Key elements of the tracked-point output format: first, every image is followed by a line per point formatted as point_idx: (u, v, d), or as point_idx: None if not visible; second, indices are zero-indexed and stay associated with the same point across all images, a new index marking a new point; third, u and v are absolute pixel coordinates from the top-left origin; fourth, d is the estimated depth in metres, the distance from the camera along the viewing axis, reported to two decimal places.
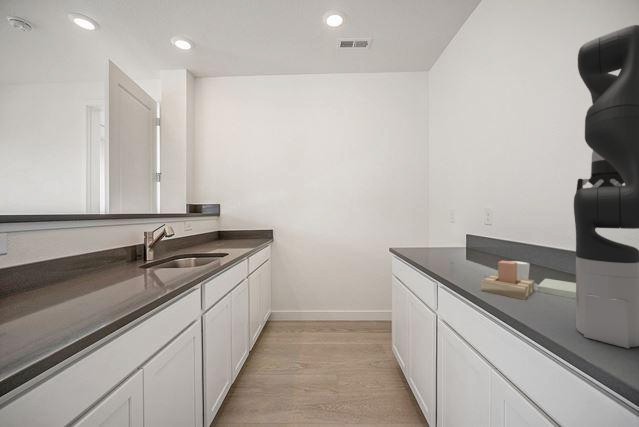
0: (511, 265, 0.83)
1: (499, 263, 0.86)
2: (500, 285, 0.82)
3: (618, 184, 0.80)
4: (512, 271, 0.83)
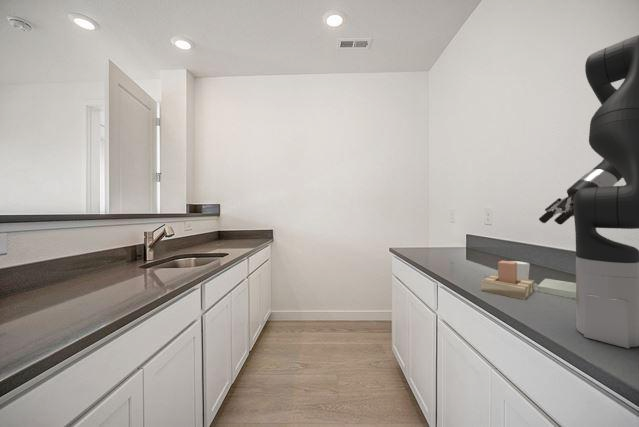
0: (511, 265, 0.83)
1: (499, 263, 0.86)
2: (500, 285, 0.82)
3: (569, 201, 0.79)
4: (512, 271, 0.83)
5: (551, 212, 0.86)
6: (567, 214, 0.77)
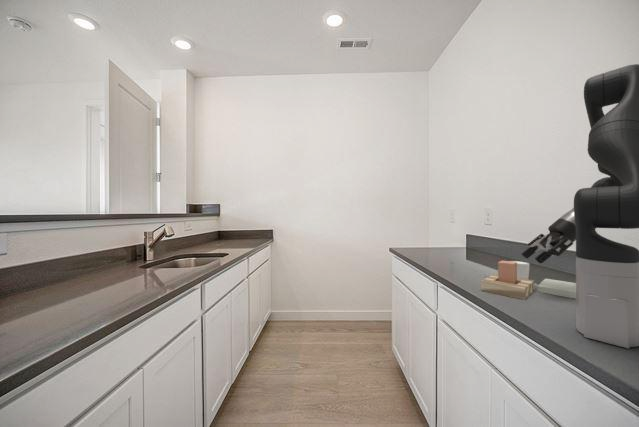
0: (511, 265, 0.83)
1: (499, 263, 0.86)
2: (500, 285, 0.82)
3: (549, 240, 0.81)
4: (512, 271, 0.83)
5: (533, 248, 0.87)
6: (547, 254, 0.79)
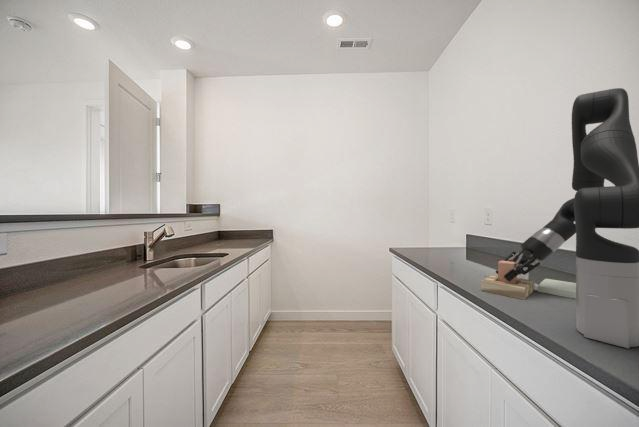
0: (511, 265, 0.84)
1: (499, 263, 0.86)
2: (500, 285, 0.82)
3: (519, 258, 0.83)
4: None
5: None
6: (514, 272, 0.82)
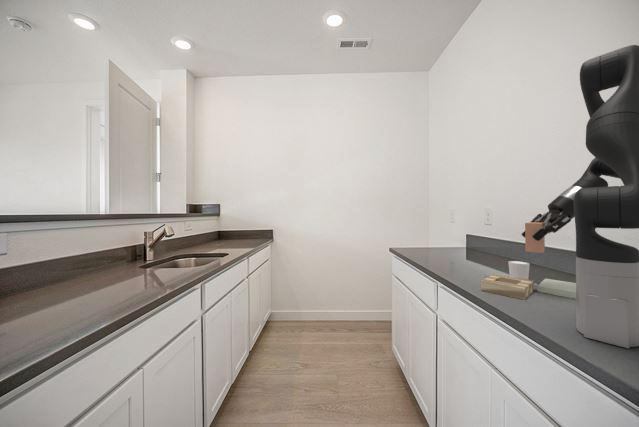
0: (539, 225, 0.82)
1: (526, 224, 0.85)
2: (500, 285, 0.82)
3: (548, 218, 0.82)
4: None
5: None
6: (544, 231, 0.81)
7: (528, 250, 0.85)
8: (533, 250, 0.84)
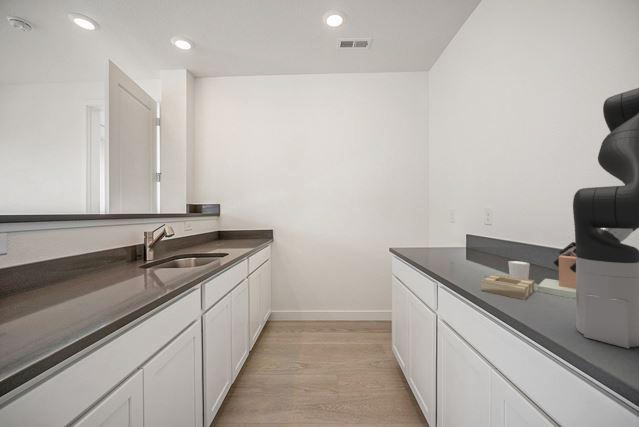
0: (574, 260, 0.81)
1: (560, 258, 0.84)
2: (500, 285, 0.82)
3: None
4: None
5: None
6: None
7: (561, 285, 0.83)
8: (567, 285, 0.82)
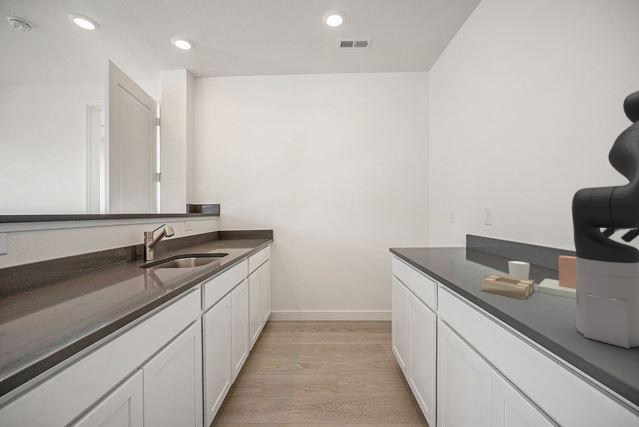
0: (574, 260, 0.81)
1: (560, 258, 0.84)
2: (500, 285, 0.82)
3: None
4: (575, 266, 0.81)
5: (612, 228, 0.83)
6: (636, 232, 0.75)
7: (561, 285, 0.83)
8: (567, 285, 0.82)
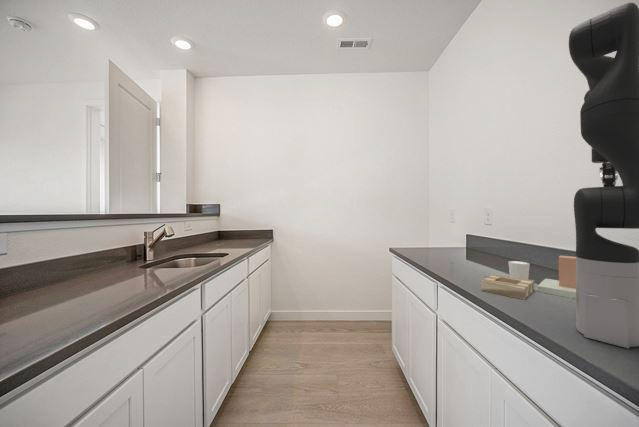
0: (574, 260, 0.81)
1: (560, 258, 0.84)
2: (500, 285, 0.82)
3: None
4: (575, 266, 0.81)
5: None
6: (607, 185, 0.75)
7: (561, 285, 0.83)
8: (567, 285, 0.82)
